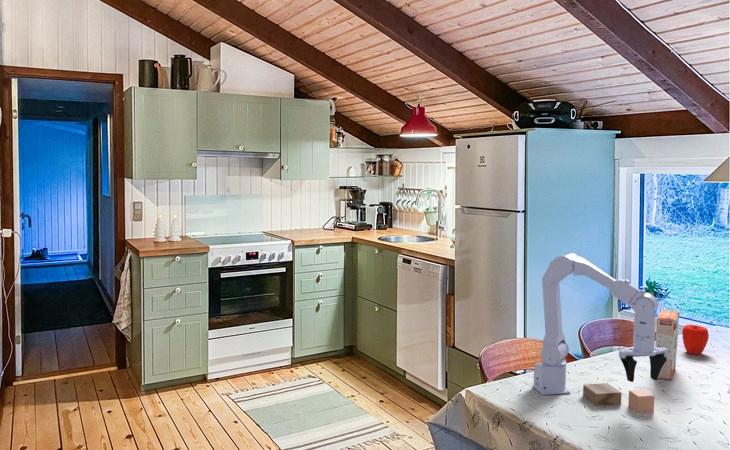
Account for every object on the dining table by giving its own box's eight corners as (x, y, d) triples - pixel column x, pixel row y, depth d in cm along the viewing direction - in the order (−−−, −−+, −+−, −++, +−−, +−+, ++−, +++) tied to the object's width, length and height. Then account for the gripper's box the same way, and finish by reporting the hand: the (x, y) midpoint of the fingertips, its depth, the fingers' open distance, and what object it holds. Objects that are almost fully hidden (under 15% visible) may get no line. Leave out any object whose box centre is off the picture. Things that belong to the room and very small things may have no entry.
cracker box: (672, 381, 208) (675, 319, 206) (652, 377, 211) (655, 317, 209) (676, 369, 220) (680, 311, 218) (658, 366, 223) (661, 308, 221)
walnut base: (596, 406, 187) (596, 394, 186) (582, 397, 195) (583, 384, 194) (621, 405, 188) (621, 392, 188) (606, 395, 196) (607, 383, 195)
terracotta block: (637, 413, 182) (638, 396, 181) (628, 406, 187) (629, 390, 186) (653, 412, 182) (654, 395, 182) (643, 405, 187) (644, 389, 187)
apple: (708, 352, 240) (709, 324, 239) (706, 358, 232) (708, 329, 231) (682, 348, 244) (683, 321, 243) (679, 354, 237) (681, 326, 236)
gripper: (629, 340, 178) (627, 386, 179) (675, 337, 180) (673, 383, 182) (615, 333, 185) (613, 378, 186) (659, 331, 187) (657, 375, 189)
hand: (642, 380), depth 184 cm, fingers open, 7 cm apart
